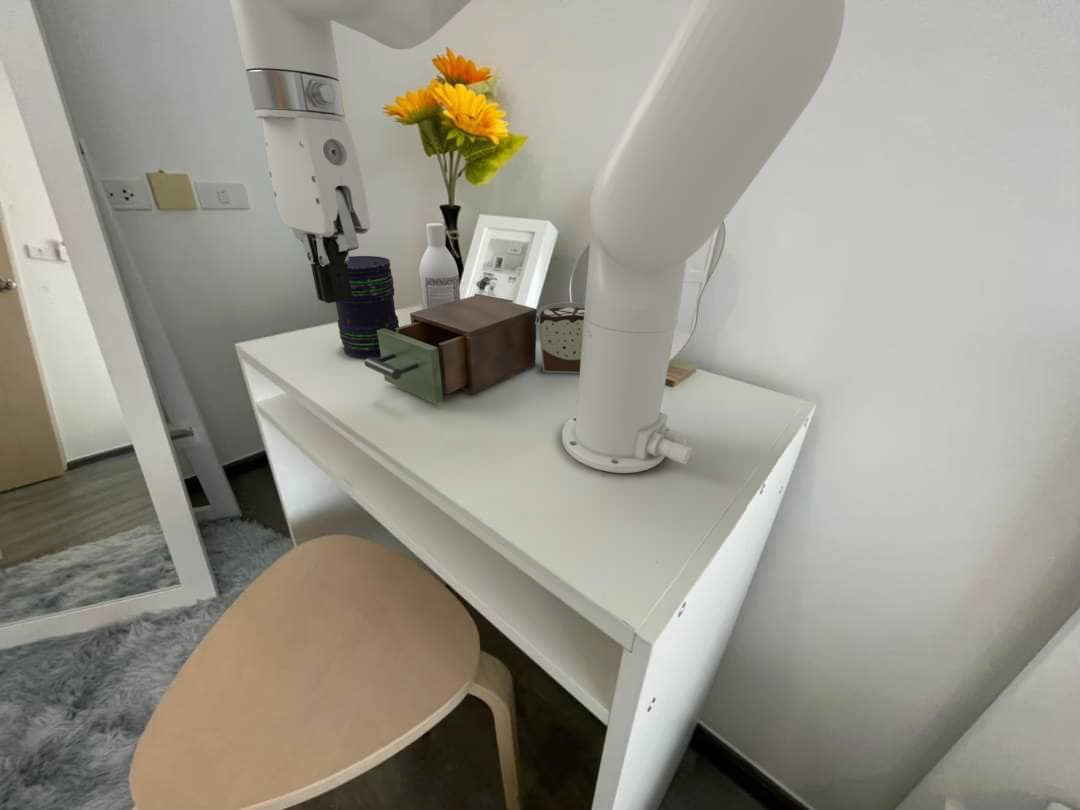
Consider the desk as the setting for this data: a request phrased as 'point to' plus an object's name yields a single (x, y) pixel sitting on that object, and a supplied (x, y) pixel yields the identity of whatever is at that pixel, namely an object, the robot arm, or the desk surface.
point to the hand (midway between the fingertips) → (335, 299)
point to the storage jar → (367, 306)
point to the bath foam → (438, 270)
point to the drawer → (422, 360)
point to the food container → (561, 336)
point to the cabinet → (488, 336)
